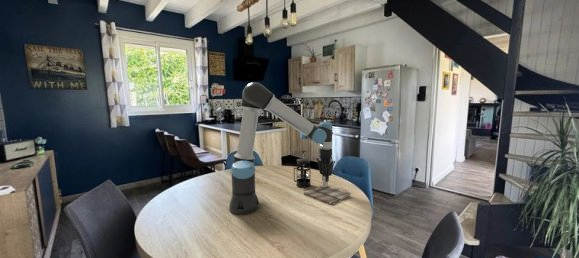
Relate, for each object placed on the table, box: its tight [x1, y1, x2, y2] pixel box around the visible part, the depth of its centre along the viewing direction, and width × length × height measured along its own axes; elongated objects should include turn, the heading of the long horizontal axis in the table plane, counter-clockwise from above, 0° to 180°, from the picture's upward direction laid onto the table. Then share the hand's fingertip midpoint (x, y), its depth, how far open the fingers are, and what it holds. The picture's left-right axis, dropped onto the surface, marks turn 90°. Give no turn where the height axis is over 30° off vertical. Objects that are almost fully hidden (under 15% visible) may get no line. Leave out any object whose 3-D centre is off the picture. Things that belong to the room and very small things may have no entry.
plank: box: [313, 184, 351, 202], centre depth 143 cm, size 20×9×1 cm, turn 40°
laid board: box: [303, 188, 341, 206], centre depth 137 cm, size 20×8×2 cm, turn 40°
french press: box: [293, 149, 312, 189], centre depth 157 cm, size 12×9×23 cm
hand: (325, 186), depth 148 cm, fingers closed
